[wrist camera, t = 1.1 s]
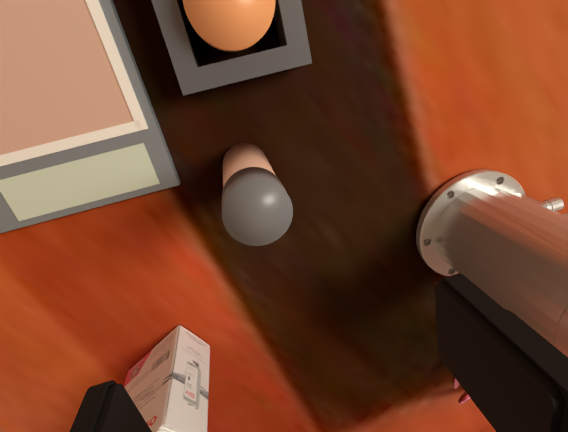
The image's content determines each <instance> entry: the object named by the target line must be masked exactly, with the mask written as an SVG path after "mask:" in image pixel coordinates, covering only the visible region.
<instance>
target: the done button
mask: <svg viewBox="0 0 568 432" xmlns="http://www.w3.org/2000/svg"><path fill="white" fill-rule="evenodd" d="M183 5H184V9H185V12H186V15H187V17H188V19H189V21H190V23H191V25H192V26H193V28H194V30H195V31H196V33H197V34H198V35H199V36H200V37H201V38H202V39H203V40H204V41H205V42H206V43H207V44H209V45H210V46H212V47H214V48H216V49H218V50H221V51H226V52H238V51H242V50H245V49H247V48H249V47H251V46H252V45H254V44H255V43H256V42H257V41H259V40H260V39H261V38H262V37H263V36H264V34H265V33H266V32H267V30H268V28H269V27H270V24H271V22H272V19H273V16H274V11H275V0H183Z"/></svg>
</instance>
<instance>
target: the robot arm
mask: <svg viewBox="0 0 568 432" xmlns="http://www.w3.org/2000/svg"><path fill="white" fill-rule="evenodd" d="M563 207H564V202H563V201H562V199H560V198H559V197H554V198H551V199H548V200H544V201H543V202H540V201H537V200H535V199H532V198H530V197H527V196H526V195H525V192H524V190H523V189H522V187H521V185H520V184H519V183H518V182H517V181H516V180H515V179H514V178H512V177H511V176H509V175H507V174H505V173H502V172H499V171H496V170H488V169H482V170H474V171H470V172H466V173H464V174H461V175H459V176H457V177H455V178H453V179H452V180H450V181H449V182H447V183H446V184H445V185H443V186H442V187H441V188H440V189H439V190H438V191H437V192H436V193H435V194H434V195H433V196H432V198H431V199H430V200H429V201H428V203H427V204H426V206H425V208H424V210H423V211H422V213H421V216H420V219H419V221H418V225H417V231H416V244H417V248H418V252H419V254H420V256H421V258H422V259H423V260H424V262H425V263H426V264H427V265H428V266H429V267H430V268H432V269H433V270H434V271H435V272H437V273H439V274H441V275H444V276H448V277H445V278H442V279H440V281H439V285H436V287H435V299H436V320H437V341H438V352H439V355H440V358H441V360H442V361H443V363H444V364H445V365H446V367H447V368H448V369H449V371H450V372H451V373H452V375H453V376H454V377H455V378H456V380H457V381H458V382H459V384H460V385H461V386H462V387H463V389H464V390H465V391H466V393H467V394H468V395H469V397H470V398H471V399H472V400H473V402H474V403H475V404H476V406H477V407H478V408H479V410H480V411H481V412H482V413H483V415H484V416H485V417H486V419H487V420H488V421H489V423H490V424H491V425H492V426H493V428H494V429H495V430H496V432H568V214H566V213H561V214H559V213H557V212H555V211H558V210H561V209H563ZM70 432H152V431H151V429H150V428H149V426H148V425H147V423H146V421H145V420H144V418H143V417H142V415H141V413H140V412H139V410H138V409H137V407H136V405H135V404H134V402H133V401H132V399H131V397H130V396H129V394H128V393H127V391H126V389H125V388H124V386H123V385H122V384H117V383H116V382H115V381H113V380H112V381H108V382H105V383H101V384H98V385H95V386H92V387H90V388H89V389H88V390H87V392H86V394H85V396H84V399H83V401H82V404H81V406H80V408H79V411H78V413H77V416H76V418H75V421H74V423H73V425H72V428H71V430H70Z"/></svg>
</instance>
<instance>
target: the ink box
mask: <svg viewBox="0 0 568 432" xmlns="http://www.w3.org/2000/svg"><path fill="white" fill-rule="evenodd" d="M209 366H210V345H208V344H207V343H206V342H204V341H203V340H202V339H200V338H199V337H197V336H196V335H194V334H193V333H191V332H190V331H188V330H187V329H185V328H184V327H182V326H180V325H178V326H177V327H176V328H175V329H174V330H173V331H171V332H170V333H169V334H168V335H167V336H166V337H165V338H164V339H163V340H162V341H160V342H159V343H158V344H157V345H156V346H155V347H154V348H153V349H152V350H151V351H150V352H149V353H147V354H146V355H145V356H144V357H143V358H142V359H141V360H140V361H138V362H137V363H136V364H135V365H134V366H133V367H132V368H131V369H130V370H129V371H128V373H127V376H126V379H125V382H124V388H125V389H126V391H127V393H128V394H129V396H130V397H131V399H132V401H133V402H134V404H135V405H136V407H137V409H138V410H139V412H140V413H141V415H142V417H143V418H144V420H145V421H146V423H147V425H148V426H149V428H150V429H151V431H152V432H207V421H208V393H209Z"/></svg>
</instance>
